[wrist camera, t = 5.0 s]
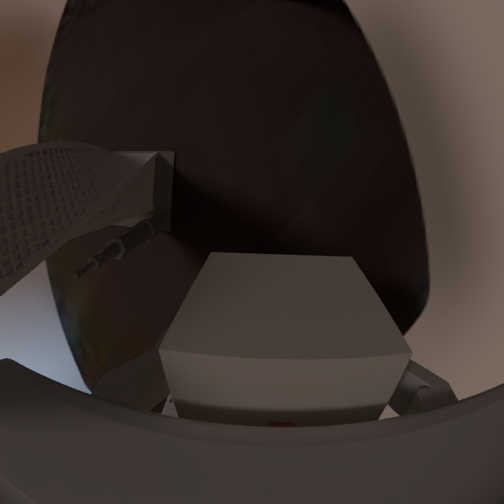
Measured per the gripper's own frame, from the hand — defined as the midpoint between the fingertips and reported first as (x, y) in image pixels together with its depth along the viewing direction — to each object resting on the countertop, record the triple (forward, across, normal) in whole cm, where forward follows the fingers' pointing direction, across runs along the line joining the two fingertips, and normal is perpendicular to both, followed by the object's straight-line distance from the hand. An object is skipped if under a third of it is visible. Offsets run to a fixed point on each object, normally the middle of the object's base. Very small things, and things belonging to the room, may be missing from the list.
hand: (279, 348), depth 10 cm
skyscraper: (+14, +13, -5) cm, 20 cm away
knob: (+2, 0, 0) cm, 2 cm away
